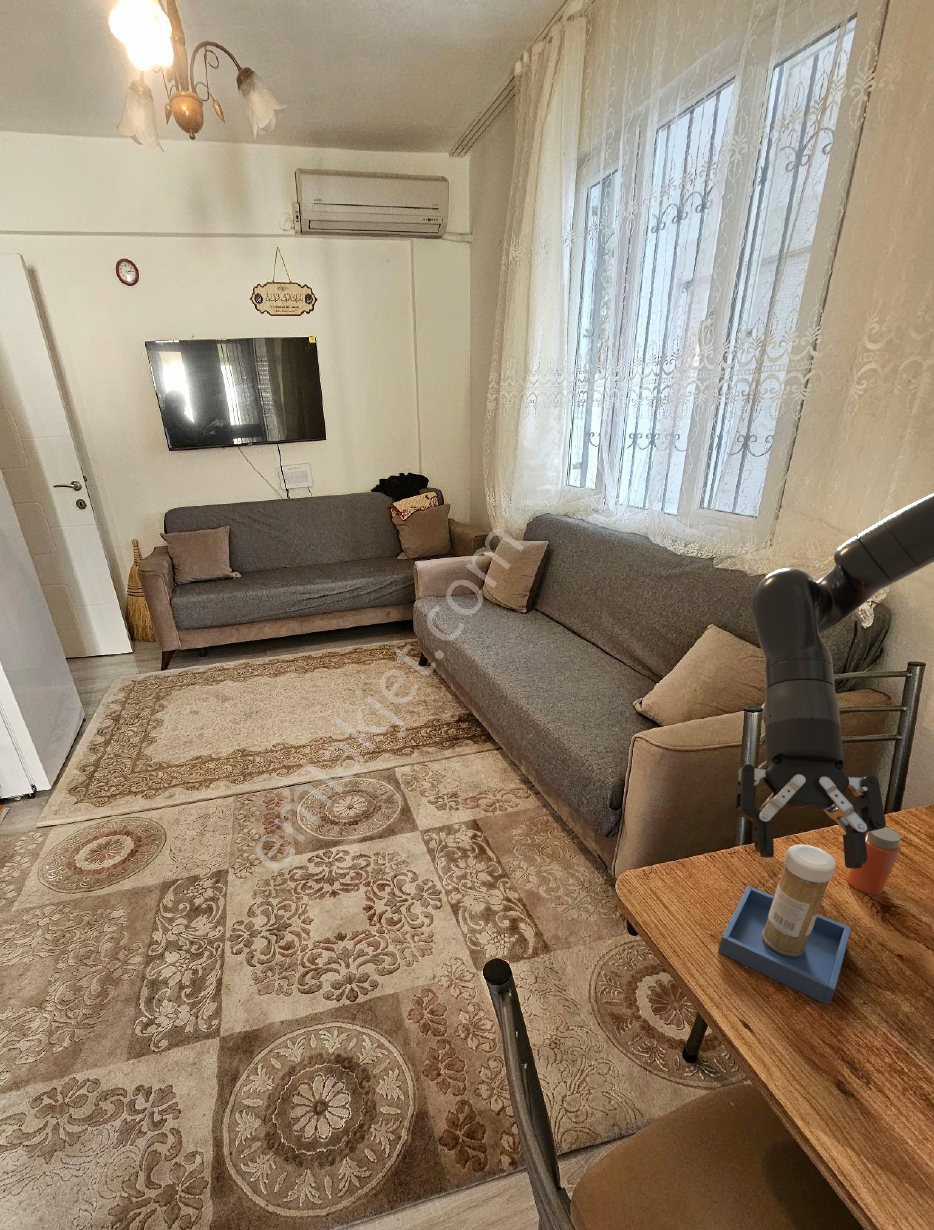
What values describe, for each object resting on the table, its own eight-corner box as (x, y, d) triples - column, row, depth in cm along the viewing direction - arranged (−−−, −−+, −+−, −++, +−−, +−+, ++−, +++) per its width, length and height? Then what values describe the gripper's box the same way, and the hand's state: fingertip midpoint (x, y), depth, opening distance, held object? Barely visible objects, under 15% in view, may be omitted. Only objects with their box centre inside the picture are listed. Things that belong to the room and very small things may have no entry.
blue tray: (845, 942, 70) (851, 927, 69) (828, 1006, 63) (835, 990, 62) (743, 899, 77) (747, 885, 76) (717, 952, 70) (721, 936, 69)
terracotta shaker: (884, 882, 79) (906, 831, 75) (881, 899, 76) (903, 847, 72) (849, 869, 81) (868, 820, 77) (844, 885, 79) (864, 834, 75)
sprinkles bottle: (814, 954, 68) (848, 865, 62) (781, 962, 67) (812, 873, 62) (783, 925, 72) (812, 839, 66) (751, 932, 71) (778, 846, 66)
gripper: (746, 710, 68) (750, 850, 63) (888, 720, 64) (905, 869, 59) (726, 729, 75) (729, 857, 70) (853, 739, 71) (866, 874, 66)
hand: (809, 862), depth 65 cm, fingers open, 8 cm apart
